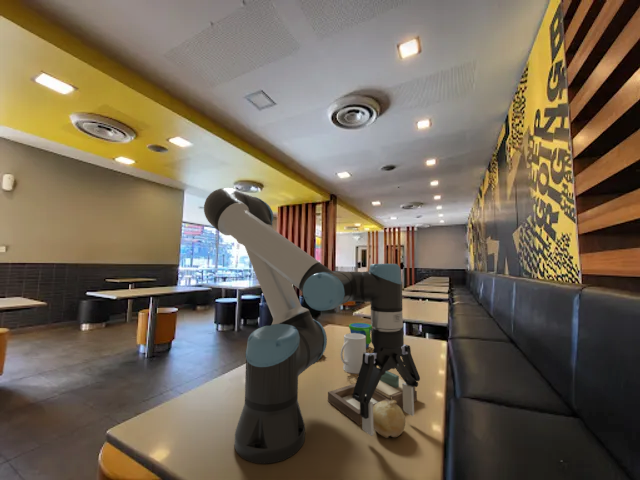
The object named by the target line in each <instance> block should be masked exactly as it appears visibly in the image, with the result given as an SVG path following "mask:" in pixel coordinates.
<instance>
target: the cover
mask: <svg viewBox="0 0 640 480" xmlns="http://www.w3.org/2000/svg"><path fill="white" fill-rule="evenodd" d="M378 368H379V367H378ZM379 369H381V368H379ZM403 383H406V382H405V381H404V380H403V378H400V375H398V374H395V373H392V372H391V371H390V370H389V371H386V372H385V374H384V375H382V376H381V379H380V381H379V383H378V385H377V387H376V389H375V391H377V392H379V393H381V394H382V395H384V396H386V397H388V398H391V395H394V394H397V393H399V392H402V391H403V389H402V384H403ZM414 388H415V389H416V387H415V386H414Z"/></svg>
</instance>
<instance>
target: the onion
mask: <svg viewBox="0 0 640 480" xmlns="http://www.w3.org/2000/svg"><path fill="white" fill-rule="evenodd" d="M391 399H392V397H391ZM396 403H397V402H396V400H391V401H389V402H388V401H381V402H378V403H376V404H375V405H374V406H373V429H374V430H375V432H377V434H378V435H380V436H382V437H384V438H385V439H389V437H392V438H395V439H396V438H397V437H399V436H400V435H401V434H403V432H404V431H405V428H406V427H405V426H406V416H405V412H404V411H403V408H402V407H399V406H398V405H397V404H396Z"/></svg>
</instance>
